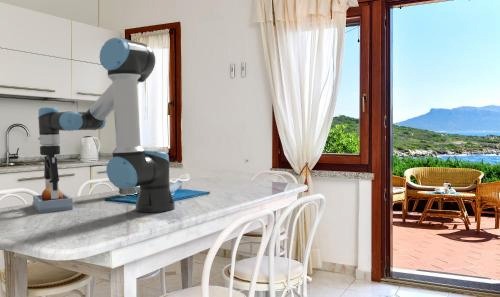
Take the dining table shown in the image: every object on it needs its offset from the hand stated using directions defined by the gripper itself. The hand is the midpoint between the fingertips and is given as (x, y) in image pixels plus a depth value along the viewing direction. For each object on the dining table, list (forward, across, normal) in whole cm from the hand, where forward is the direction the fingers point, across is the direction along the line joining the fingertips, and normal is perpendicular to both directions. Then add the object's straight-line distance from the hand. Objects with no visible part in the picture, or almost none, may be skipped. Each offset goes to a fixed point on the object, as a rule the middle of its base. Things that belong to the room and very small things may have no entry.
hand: (52, 196), depth 183 cm
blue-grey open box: (+5, -2, 0) cm, 5 cm away
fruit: (+3, 0, 0) cm, 3 cm away
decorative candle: (+5, -14, +36) cm, 39 cm away
